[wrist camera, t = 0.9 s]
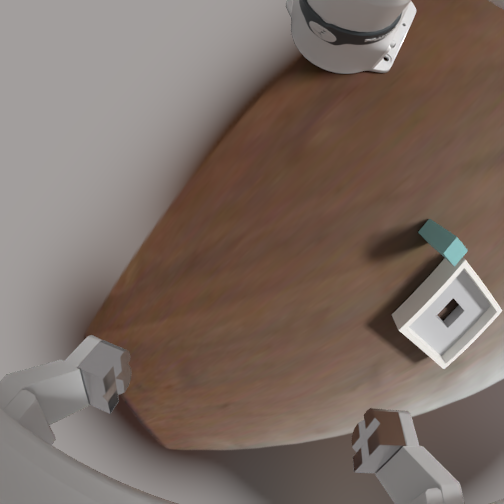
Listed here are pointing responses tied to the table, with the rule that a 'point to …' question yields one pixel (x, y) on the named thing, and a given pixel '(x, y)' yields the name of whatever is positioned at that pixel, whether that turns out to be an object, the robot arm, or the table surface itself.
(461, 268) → the box
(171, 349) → the table surface
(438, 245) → the peg
